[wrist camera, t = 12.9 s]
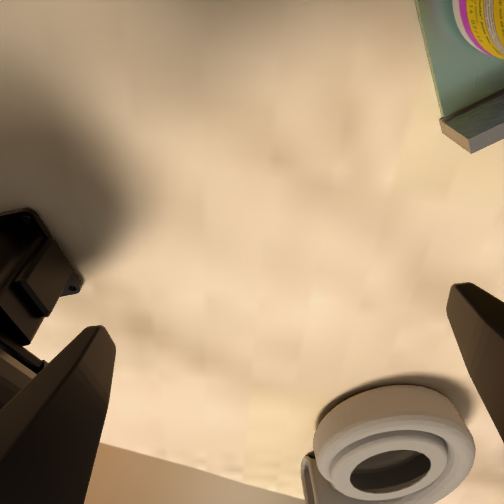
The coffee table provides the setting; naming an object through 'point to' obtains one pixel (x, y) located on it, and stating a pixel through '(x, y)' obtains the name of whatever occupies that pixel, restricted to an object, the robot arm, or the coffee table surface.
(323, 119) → the coffee table surface
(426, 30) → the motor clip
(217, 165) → the coffee table surface
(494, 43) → the supplement bottle
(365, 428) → the turbocharger housing
